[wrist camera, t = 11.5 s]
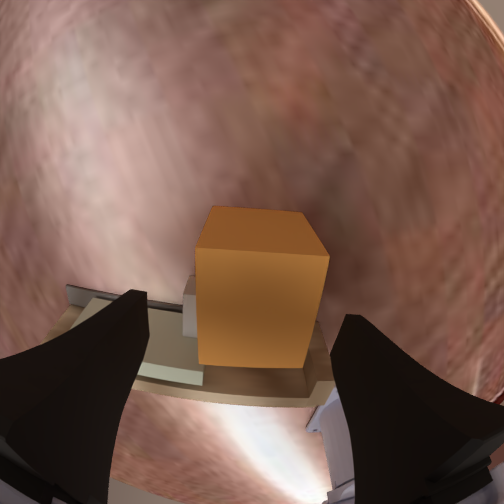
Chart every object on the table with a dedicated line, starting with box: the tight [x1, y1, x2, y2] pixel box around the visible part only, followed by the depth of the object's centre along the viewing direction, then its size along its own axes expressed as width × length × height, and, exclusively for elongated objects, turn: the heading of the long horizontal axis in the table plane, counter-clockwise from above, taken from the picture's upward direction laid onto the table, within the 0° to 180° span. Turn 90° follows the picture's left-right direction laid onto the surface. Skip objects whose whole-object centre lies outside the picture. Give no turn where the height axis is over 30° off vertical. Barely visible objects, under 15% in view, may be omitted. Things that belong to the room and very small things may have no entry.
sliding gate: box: [69, 276, 205, 386], centre depth 15 cm, size 8×4×5 cm, turn 82°
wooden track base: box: [40, 285, 336, 408], centre depth 16 cm, size 18×3×6 cm, turn 82°
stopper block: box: [195, 206, 330, 368], centre depth 14 cm, size 5×6×6 cm
